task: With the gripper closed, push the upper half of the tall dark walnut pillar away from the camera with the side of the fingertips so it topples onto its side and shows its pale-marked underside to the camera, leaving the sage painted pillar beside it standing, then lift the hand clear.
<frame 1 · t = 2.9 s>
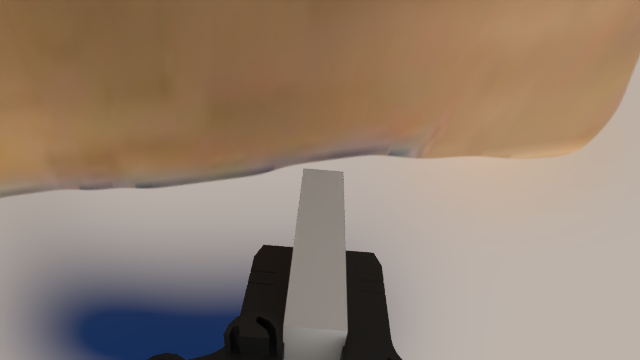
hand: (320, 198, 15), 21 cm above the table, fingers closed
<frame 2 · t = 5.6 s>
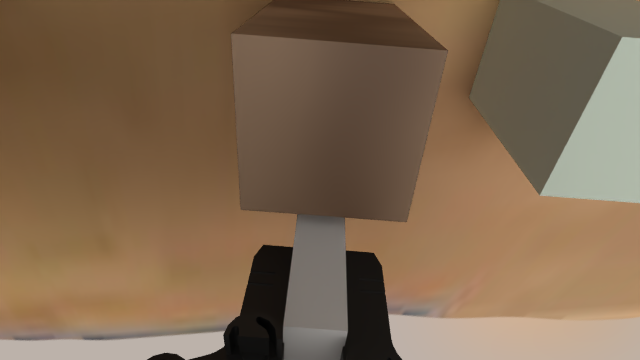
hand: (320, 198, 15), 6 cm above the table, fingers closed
walnut pillar: (332, 57, 18), on the table, touching gripper
sage pillar: (538, 51, 17), on the table
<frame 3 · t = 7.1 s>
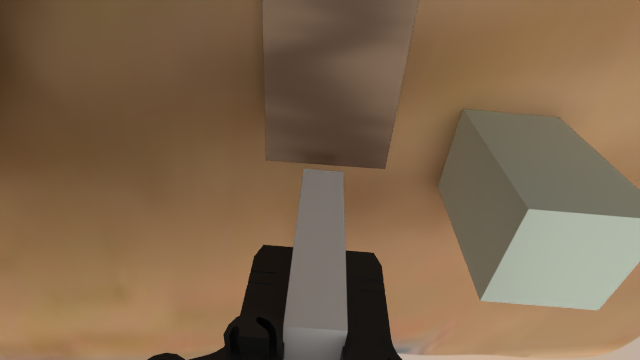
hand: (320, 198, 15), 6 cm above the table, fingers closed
walnut pillar: (326, 137, 18), point 2 cm above the table, tilted 90°
sage pillar: (494, 154, 21), on the table
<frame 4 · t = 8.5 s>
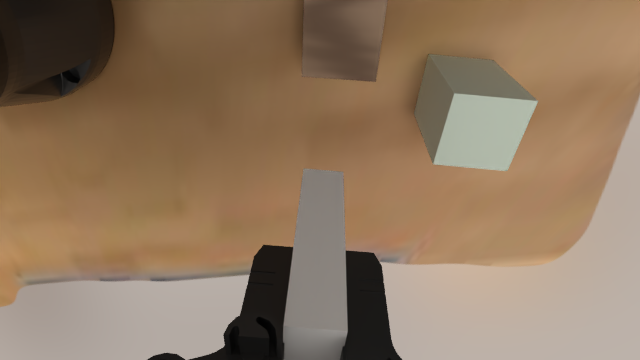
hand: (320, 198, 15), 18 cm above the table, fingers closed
walnut pillar: (338, 68, 27), point 2 cm above the table, tilted 90°
sage pillar: (451, 88, 30), on the table
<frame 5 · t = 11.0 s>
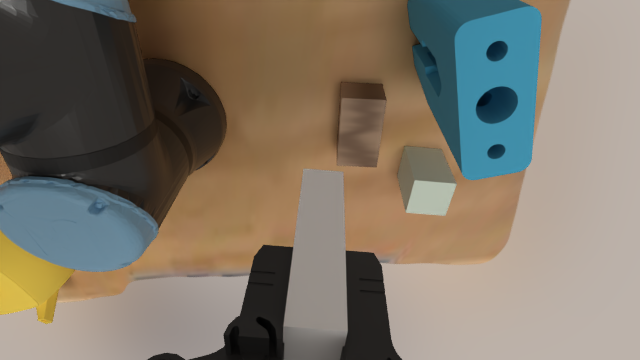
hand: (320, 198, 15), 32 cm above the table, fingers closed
teapot: (38, 245, 65), on the table
walnut pillar: (355, 156, 49), point 2 cm above the table, tilted 90°
sage pillar: (418, 162, 52), on the table
block: (433, 30, 42), on the table
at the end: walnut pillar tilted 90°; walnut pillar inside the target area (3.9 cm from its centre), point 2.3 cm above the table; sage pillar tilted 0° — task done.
